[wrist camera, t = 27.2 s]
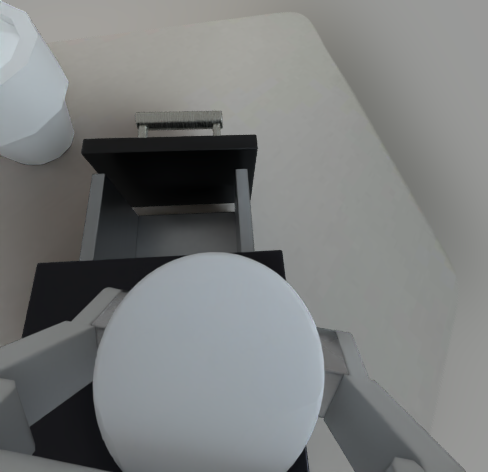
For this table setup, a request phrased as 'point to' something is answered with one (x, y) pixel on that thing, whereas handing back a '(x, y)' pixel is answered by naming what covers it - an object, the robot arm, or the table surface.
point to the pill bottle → (209, 370)
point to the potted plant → (30, 93)
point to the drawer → (169, 189)
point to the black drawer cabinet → (81, 403)
